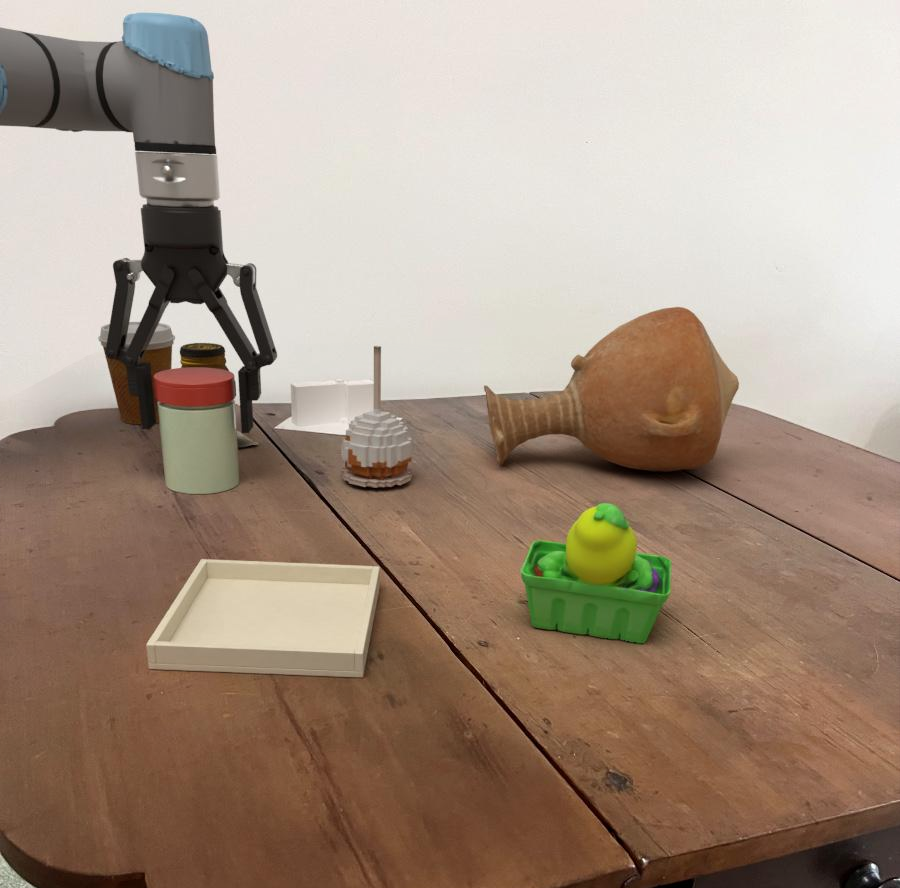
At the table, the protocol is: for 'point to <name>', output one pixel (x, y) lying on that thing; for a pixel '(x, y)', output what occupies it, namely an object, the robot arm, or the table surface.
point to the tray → (269, 619)
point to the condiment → (209, 358)
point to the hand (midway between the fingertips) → (198, 427)
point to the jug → (633, 397)
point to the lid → (194, 386)
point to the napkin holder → (328, 405)
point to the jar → (199, 447)
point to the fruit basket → (596, 580)
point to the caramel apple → (377, 444)
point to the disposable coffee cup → (155, 354)
